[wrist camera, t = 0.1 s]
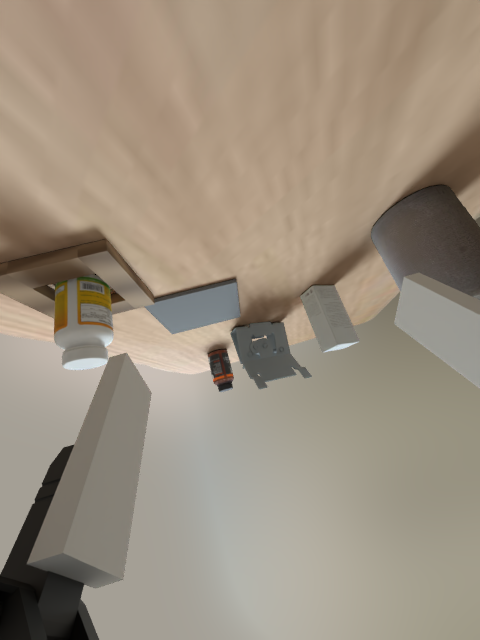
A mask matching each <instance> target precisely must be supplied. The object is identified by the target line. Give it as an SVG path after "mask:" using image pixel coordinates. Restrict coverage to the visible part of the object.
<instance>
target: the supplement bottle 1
mask: <svg viewBox="0 0 480 640" xmlns="http://www.w3.org/2000/svg"><path fill="white" fill-rule="evenodd" d="M54 340H55V343H56V345H57V346H59V347H60V348H62V349H65V351H64V352H63V355H62V365H63V367H64V368H66V369H70V370H84V369H91V368H96V367H99V366H102V365H105V364H106V363H107V362H108V351H107V348H105V347H106V346H108V345H109V344H110V343H111V342H112V340H113V322H112V308H111V295H110V286H109V285H108V284H107V283H106V282H104V281H103V280H102V279H101V278H100V277H99V276H97V275H94V274H91V275H87V276H83V277H79V278H74V279H70V280H66V281H62V282H58V283H56V284H55V321H54Z"/></svg>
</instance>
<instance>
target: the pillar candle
mask: <svg viewBox="0 0 480 640" xmlns="http://www.w3.org/2000/svg"><path fill="white" fill-rule="evenodd" d="M371 238H372V241H373V243H374V244H375V246H376V248H377V250H378V252H379V254H380V255H381V257H382V259H383V261H384V263H385V264H386V266H387V268H388V270H389V272H390V273H391V275H392V277H393V279H394V280H395V282H396V284H397V286H398V288H399V289H400V291H401V288H402V283H403V279H404V277H405V276H408V275H412V274H416V273H421V274H423V275H425V276H428V277H430V278H432V279H434V280H436V281H439V282H441V283H443V284H445V285H447V286H450V287H452V288H454V289H456V290H458V291H461V292H463V293H465V294H467V295H469V296H472V297H474V298H476V299H478V300H480V227H479V226H478V224H477V223H476V222H475V220H474V219H473V218H472V216H471V215H470V214H469V213H468V211H467V210H466V208H465V207H464V206H463V205H462V203H461V202H460V201H459V200H458V198H457V197H456V195H455V193H454V192H453V191H452V190H451V188H450V187H448V186H445V185H436V186H431V187H428V188H425V189H422V190H420V191H418V192H416V193H414V194H412V195H410V196H408V197H406V198H405V199H403V200H402V201H400V202H399V203H397V204H396V205H394V206H393V207H392V208H390V209H389V210H388V211H387V212H386V213H385V214H384V215H383V216H382V217H381V218H380V219H379V220H378V221H377V222H376V224H375V225H374V226H373V228H372V232H371Z"/></svg>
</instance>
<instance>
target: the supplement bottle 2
mask: <svg viewBox="0 0 480 640" xmlns="http://www.w3.org/2000/svg"><path fill="white" fill-rule="evenodd" d="M208 359H209V364H210V368H211V373H212V377H213V382H214V384H215V385H217V386H218V389H219V392H223V391H227V390H230V389H232V388H233V387H232V384H231V383H232V381H233V379H234V377H233V373H232V368H231V365H230V360H229V357H228V353H227V351H226V350H216V351H213V352H211V353H210V354H209V355H208Z"/></svg>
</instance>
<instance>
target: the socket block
mask: <svg viewBox="0 0 480 640" xmlns="http://www.w3.org/2000/svg"><path fill="white" fill-rule="evenodd" d="M91 274H97V275H98V276H99V277H100V278H101V279H102V280H103V281H104V282H106V283H107V284H108V285H109V286H110V287H111V288H112V289H114V290H115V291H116V292H117V293H115V294H111V308H112V315H113V314H117V313H121V312H125V311H129V310H133V309H137V308H141V307H145V306H149V305H153V304H155V302H154V295H153V294H152V293H151V292H150V291H149V289H148V288H147V287H146V286H145V285H144V283H143V282H142V281H141V280H140V279H139V277H138V276H137V275H136V274H135V273H134V272H133V270H132V269H131V268H130V267H129V266H128V264H127V263H126V262H125V261H124V260H123V258H122V257H121V256H120V255H119V254H118V252H117V251H116V250H115V249H114V248H113V246H112V245H111V244H110V243H109V242H108V241H107V239H104V240H100V241H96V242H92V243H87V244H83V245H79V246H74V247H70V248H66V249H61V250H57V251H53V252H48V253H44V254H40V255H35V256H31V257H27V258H23V259H18V260H14V261H10V262H5V263H1V264H0V293H1V294H3V295H5V296H8V297H10V298H12V299H14V300H16V301H18V302H20V303H22V304H25V305H27V306H29V307H31V308H33V309H35V310H37V311H39V312H42V313H44V314H46V315H48V316H50V317H52V318H54V319H55V290H53V289H51V288H50V287H48V286H46V285H49V284H53V283H58V282H62V281H66V280H70V279H74V278H79V277H83V276H87V275H91Z"/></svg>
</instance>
